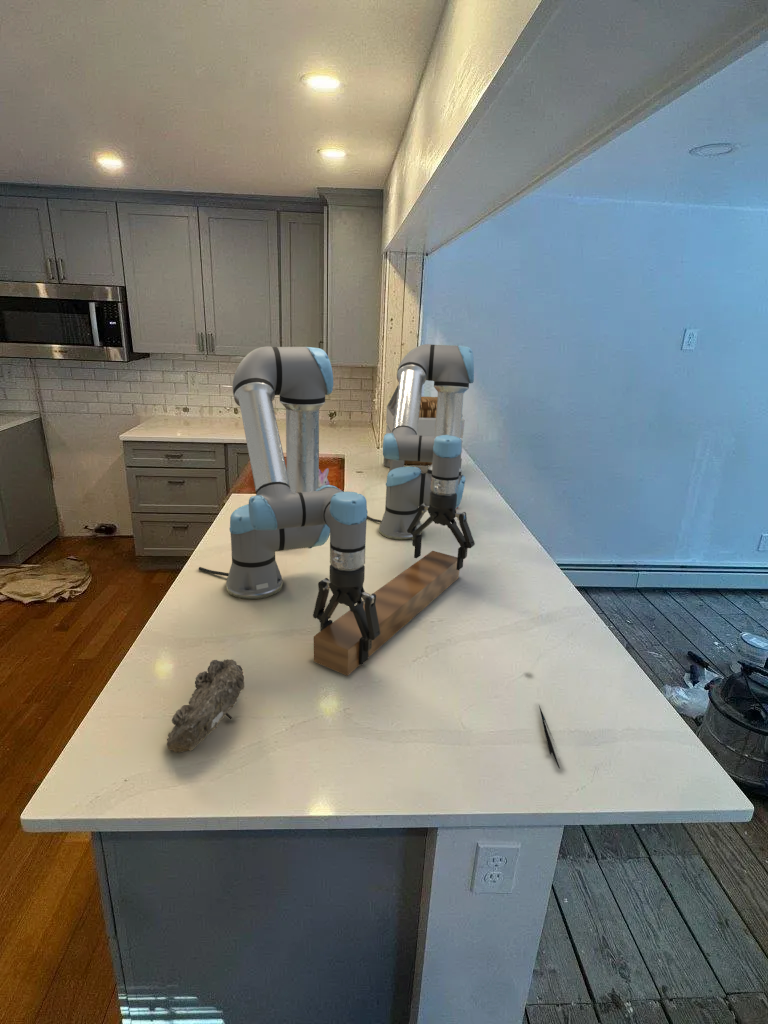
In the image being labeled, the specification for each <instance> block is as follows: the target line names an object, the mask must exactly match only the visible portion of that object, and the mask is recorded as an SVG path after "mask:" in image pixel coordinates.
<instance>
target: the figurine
mask: <svg viewBox="0 0 768 1024" xmlns="http://www.w3.org/2000/svg"><path fill="white" fill-rule="evenodd" d="M329 471H330V469H329V468H328V467H327V468H325V469H324V471H322V470H321V469H320V468H319V488H320V487H322V486H324V485H330V481H329V478H328V476H329Z"/></svg>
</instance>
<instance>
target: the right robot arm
mask: <svg viewBox="0 0 768 1024" xmlns="http://www.w3.org/2000/svg"><path fill="white" fill-rule="evenodd" d="M474 363H475V361H474V352H473V349H472V348H471V347H470V346H464V345H455V344H454V345H451V344H431V343H425V344H424V343H423V344H421V345H420V344H419V345H418V346H416V347H414V348H412V349H411V350H410V351H409V352H407V353H406V354H405V355H404V356H403V358H402V359H401V361H400V362H399V365H398V367H397V369H396V380H397V383H398V385H399V386H398V385H397V386H398V393H397V400H396V407H395V414H394V421H393V429H392V433H388V434H386V433H384V435H383V439H382V440H383V441H382V457H383V459H384V458H386V459H391V460H397V461H398V460H404V461H420V462H432V464H431V465H430V466H429V465H428V466H427V472H422V469H421V468H420V467H419V466H418V467H417V466H404V467H399V468H395V469H393V470H391V471H390V470H389V471H388V473H387V475H386V482H385V487H386V488H385V489H386V490H385V504H384V505H385V507H384V508H385V509H384V513H383V515H382V519H376V518H373V517H371V516H369V515H367V520H369V521H371V522H375V523H379V526H378V533H379V534H380V535H381V536H382V537H385V538H387V539H389V540H395V541H410V540H412V543H411V544H412V546H413V547H414V550H413V555H414V556H413V558H414V559H418V558H419V557H421V554H422V541H423V531H424V530H426V528H427V527H429V526H430V525H431V524H432V523H434V524H436V525H441V526H444V527H445V526H446V527H447V529H448V530H450V531H451V533H452V535H453V536H454V538H455V540H456V541H457V543H458V544H459V546H458V549H457V557H458V558H457V569H456V570H459V571H460V570H461V569H462V568H463V567H464V560H465V559H466V558H467V557H468V549H471V548H473V547H474V546H475V545H476V542H475V540H474V537H473V534H472V531H471V529H470V526H469V523H468V520H467V512H466V511H463V512H457V509H458V508H459V507H460V505H461V502H462V498H463V494H464V490H465V484H466V476H465V475H463V474H462V472H463V471H462V468H461V469H460V458H462V453H463V443H462V441H463V440H462V438H460V431H461V419H463V408H464V407H463V406H464V394H465V393H466V392H467V391H468V390H469V389H470V384H473V383H475V364H474ZM427 381H428V382H433V388H434V389H435V391H436V392H437V396H436V397H437V411H436V424H435V436H419V435H417V431H418V422H419V412H420V402H421V397H422V392H423V386H424V384H425V383H426V382H427ZM461 440H462V441H461ZM461 445H462V447H461ZM461 452H462V453H461ZM457 507H458V508H457ZM425 513H428V514H429V516H428V518H427V519H426V520H424V522H422V523H421V520H422V518H423V517H424V515H425ZM456 519H457V520H456ZM457 521H458V523H457ZM458 524H459V526H460V527H459V526H458Z"/></svg>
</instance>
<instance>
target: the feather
mask: <svg viewBox="0 0 768 1024" xmlns="http://www.w3.org/2000/svg"><path fill="white" fill-rule="evenodd" d="M528 675H529V676H530V673H528ZM538 708H539V712H540V716H541V721H542V726H543V731H544V735H545V739H546V743H547V747H548V750H549V755H552V756H553V758H554V760H555V761H554V762H555V763H556V765H557V767H558V769H560V768H561V767H560V765H559V762H558V759H557V756H558V755H556V753H555V752H556V751H555V750H557V749H558V748H557V746H556V745H555V744H552V743H553V742H554V741H555V739H554V737H553V736H550V734H552V733H551V731H550V727H549V725H548V723H547V721H546V718H545V716H544V713H543V711H542V708H541V706H540V705H538ZM554 749H555V750H554ZM558 757H559V756H558Z"/></svg>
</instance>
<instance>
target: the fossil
mask: <svg viewBox="0 0 768 1024" xmlns="http://www.w3.org/2000/svg"><path fill="white" fill-rule="evenodd" d="M243 670H244V669H243V667H242V665H240V664H237V662H236V661H235V660H234V659H232V658H231V659H227V658H226V659H224V660H223V661H222V660H217V659H212V660H211V661H210V663H209V665H208V666H207V671H201V672H199V673H198V674H197V675H196V676H195V680H194V684H195V685H194V687H195V689H194V690H193V693H192V694H191V697H190V698H189V700H188V704H184V705H182V706H181V707H180V709H177V710H176V711H175V713H174V715H173V716H172V718H171V723H172V724H173V727H172V730H171V731H170V732H168V734H167V738H166V741H167V742H166V745H167V749H168V750H169V751H173V752H174V753H176V754H178V753H182V752H188V751H189V752H192V751H193V750H195V748H196V747H197V746H199V744H200V743H201V742H203V741H204V740H205V739H206V738H207V737H208V736H209V735H210V734H211V733H212V732H214V730H215V729H217V727H218V726H219V724H220V722H221V721H222V720H223V719H224V718H225V716H226V717H227V719H229V720H233V717H232V715H230V714H229V710H230V709H231V708H234V706H235V704H236V703H237V702H238V699H239V697H240V695H241V693H242V691H243V690H245V689H244V688H245V675H244V671H243Z"/></svg>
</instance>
